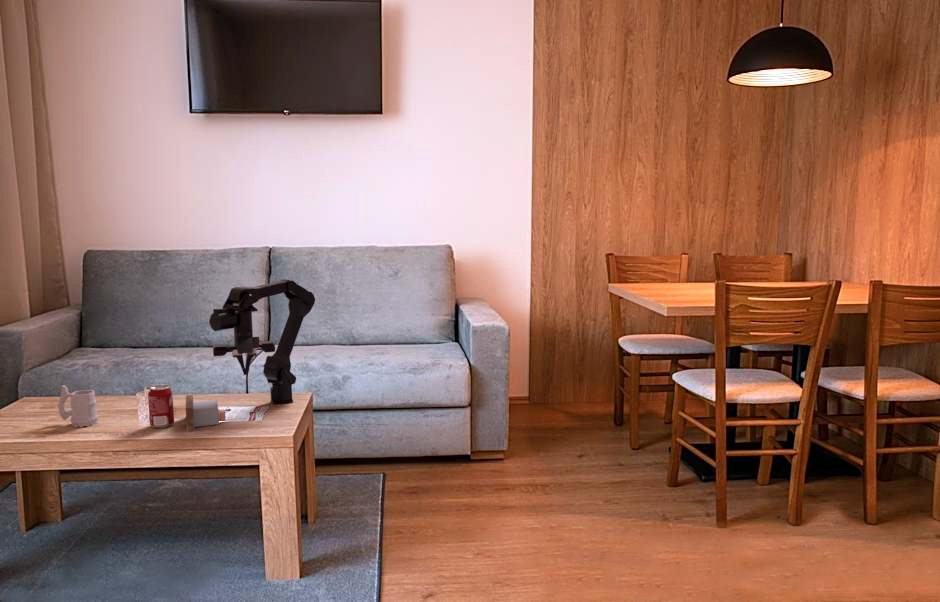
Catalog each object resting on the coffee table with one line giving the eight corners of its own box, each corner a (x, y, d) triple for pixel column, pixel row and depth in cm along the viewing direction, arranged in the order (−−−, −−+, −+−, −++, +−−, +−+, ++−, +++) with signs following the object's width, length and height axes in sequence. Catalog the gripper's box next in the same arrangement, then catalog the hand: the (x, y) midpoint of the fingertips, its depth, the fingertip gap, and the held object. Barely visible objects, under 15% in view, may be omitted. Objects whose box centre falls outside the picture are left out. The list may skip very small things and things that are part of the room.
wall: (194, 416, 228) (192, 394, 227) (194, 430, 213) (192, 407, 212) (187, 417, 227) (186, 395, 226) (186, 431, 212) (185, 408, 211)
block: (217, 416, 227) (217, 399, 226) (218, 424, 219) (218, 407, 218) (194, 418, 224) (193, 402, 224) (194, 426, 216) (193, 409, 215)
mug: (90, 427, 217) (87, 388, 215) (52, 427, 217) (48, 388, 216) (104, 420, 224) (101, 382, 223) (67, 420, 225) (64, 382, 223)
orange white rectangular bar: (225, 420, 224) (224, 410, 224) (225, 422, 221) (225, 412, 221) (197, 422, 222) (197, 412, 221) (197, 425, 219) (197, 415, 218)
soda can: (169, 429, 215) (166, 389, 213) (146, 429, 215) (143, 389, 213) (177, 422, 221) (175, 384, 220) (155, 422, 221) (153, 384, 220)
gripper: (212, 332, 219) (215, 383, 221) (276, 328, 226) (278, 377, 228) (211, 327, 229) (214, 375, 231) (272, 323, 236) (274, 370, 238)
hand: (245, 374), depth 232 cm, fingers closed
